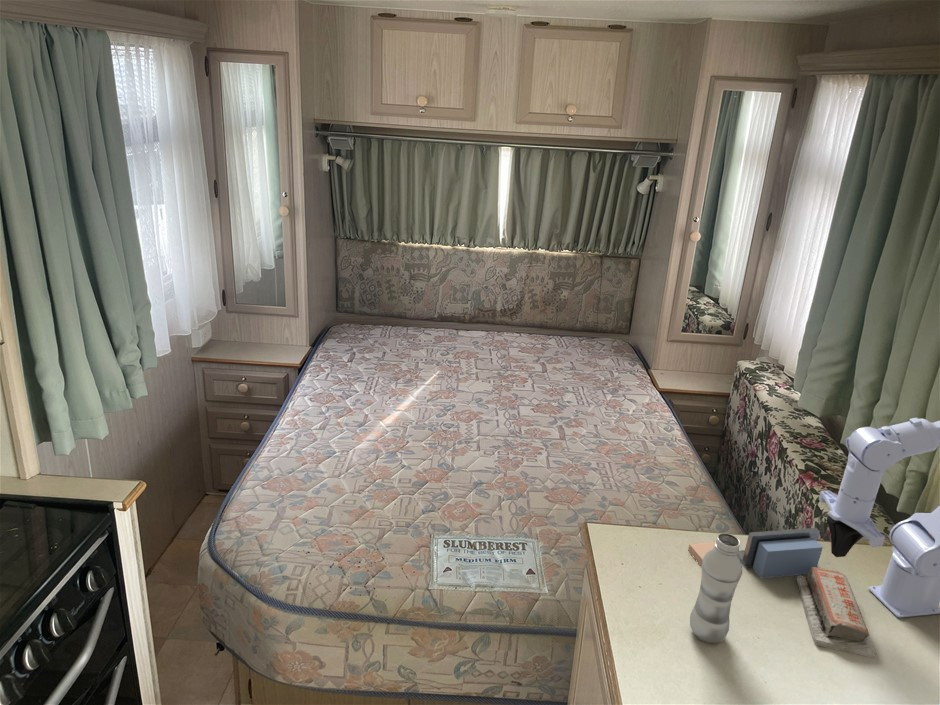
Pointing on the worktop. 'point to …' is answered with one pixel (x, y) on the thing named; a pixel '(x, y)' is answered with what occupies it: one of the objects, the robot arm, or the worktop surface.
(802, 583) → the packaged product
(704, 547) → the lying book
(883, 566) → the worktop surface
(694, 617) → the plastic bottle
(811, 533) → the bookend
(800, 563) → the grayish blue rectangular block
